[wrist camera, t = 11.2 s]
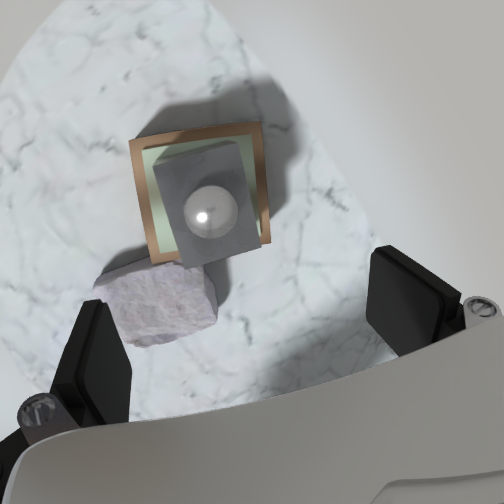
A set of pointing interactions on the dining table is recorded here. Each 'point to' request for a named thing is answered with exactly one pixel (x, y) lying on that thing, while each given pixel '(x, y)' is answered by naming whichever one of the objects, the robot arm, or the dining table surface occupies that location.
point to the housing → (207, 203)
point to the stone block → (158, 301)
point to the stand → (183, 140)
